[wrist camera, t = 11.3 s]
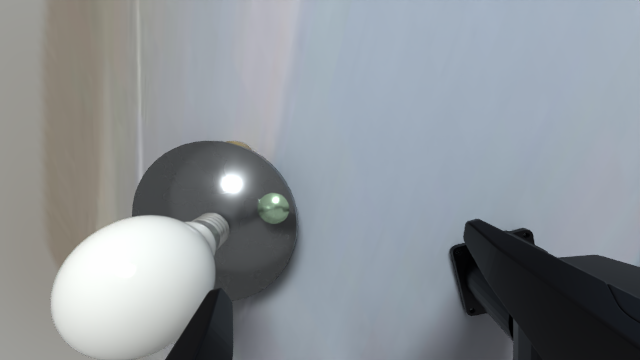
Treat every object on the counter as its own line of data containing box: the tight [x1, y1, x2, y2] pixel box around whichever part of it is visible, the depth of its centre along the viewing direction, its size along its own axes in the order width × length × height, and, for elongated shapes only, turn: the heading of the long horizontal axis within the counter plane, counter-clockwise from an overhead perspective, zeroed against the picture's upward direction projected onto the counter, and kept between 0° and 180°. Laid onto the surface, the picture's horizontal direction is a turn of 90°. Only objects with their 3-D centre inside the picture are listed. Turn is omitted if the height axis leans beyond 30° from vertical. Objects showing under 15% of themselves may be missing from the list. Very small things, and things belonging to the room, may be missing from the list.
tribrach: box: [132, 141, 298, 301], centre depth 22 cm, size 13×13×3 cm
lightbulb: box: [50, 213, 229, 360], centre depth 15 cm, size 6×6×11 cm
